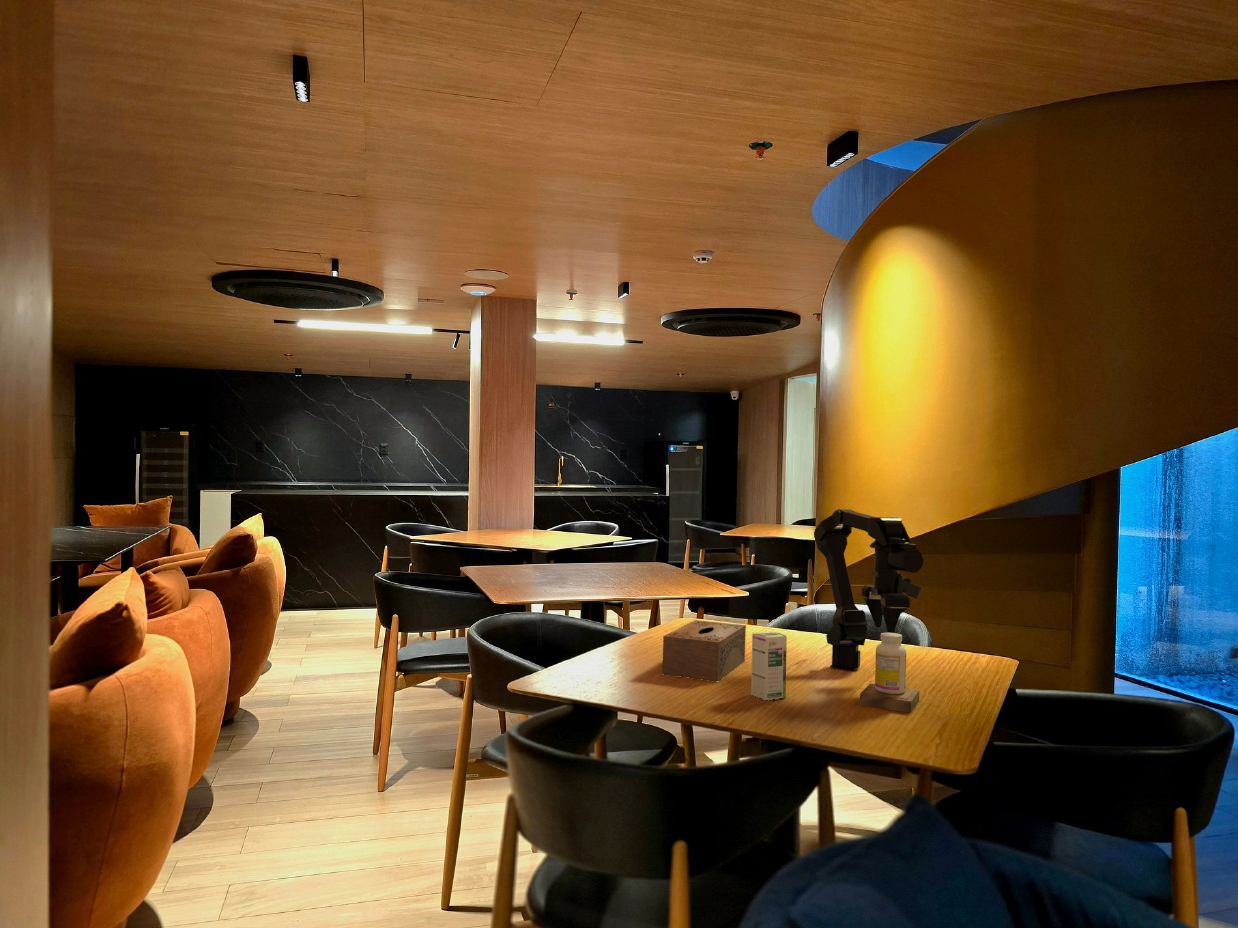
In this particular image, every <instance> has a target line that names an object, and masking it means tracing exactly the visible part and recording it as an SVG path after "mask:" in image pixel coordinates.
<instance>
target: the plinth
mask: <svg viewBox="0 0 1238 928" xmlns="http://www.w3.org/2000/svg"><path fill="white" fill-rule="evenodd" d="M919 702H920V690H919V689H911V688H906V689H905V692H904V693H901V694H887V693H882V692H879V691H877V690H876V688H875V683H871V682H870V683H869V684H868V685H867V686H866V687H865V688H864V689H863V690H862V691H861V692H860V693H859V705H860V706H865V707H870V708H877V707H879V708H878V709H884V710H889V709H890V710H891V711H896V712H903V713H910V714H912V713H913V711H914V710H915V708H916V707H917V705H918V704H919Z"/></svg>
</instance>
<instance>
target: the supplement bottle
mask: <svg viewBox="0 0 1238 928" xmlns="http://www.w3.org/2000/svg"><path fill="white" fill-rule="evenodd" d="M902 641H903V635H902V634H900V633H896V632H894V633H888V632H881V633H880V642H881V643H880V644H878V645H877V646H876V647H875V667H874V668H875V671H874V672H875V673H874V675H875V676H874V677H875V678H874V684H875V688H876V690H877V691H879V692H882V693H887V694H901V693H904V692H905V689H907V686H906V685H907V682H906V681H907V679H906V678H907V649H906V647H905V646H903V645H902Z"/></svg>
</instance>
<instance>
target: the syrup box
mask: <svg viewBox="0 0 1238 928" xmlns="http://www.w3.org/2000/svg"><path fill="white" fill-rule="evenodd" d="M787 639H788V638H787V635H785V634H784V633H780V632H777V631H767V632H766V631H765V632H756V633H754V632H753V633H752V634H751V687H750V688H751V691H750V692H751V695H752V696H753V697H755V696H756V697H755V698H757V697H758V698H757V699H759V698H762V699H764V700H763V701H765V700H768V701H774V700H773V699H775V700H780V699H779V698H785V699H786V697H787V696H786V695H787V693H786V692H787V652H788V651H787V645H788V644H787V643H788V640H787ZM762 699H761V700H762Z"/></svg>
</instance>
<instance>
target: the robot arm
mask: <svg viewBox="0 0 1238 928" xmlns="http://www.w3.org/2000/svg"><path fill="white" fill-rule="evenodd" d="M852 528H853V529H857V530H861V531H863V532H866V533H867V535H868V536H869V537H870V538H871V539H874V541H872V542H871V543H870V545H869V547H870V548H872V549H874V562H873V563H874V567H873V570H872V569H871V575H872V576H873V584H865V585H864V586H862V588H861V596H862V597H863V601H865V602H864V603H865V604H866V607H867V608H868V610H869V613H870V615H871V618H872V621H873V623H874V625H875V627H876V628H881V626H882V622H883V621H882V620H884V623H885V628H886V631H887V633H895V631H896V627H897V624H898V622H899V619H900V616H901V615H902V614H903V613H904V612H906V611H908V610H909V608H912V607H911V606H912V599H911V598H910V597H912V598H914V599H916V600H918V599H919V597H920V595H921V592H922V589H923V586H920V585H917V584H914V583H912V579H911V578H909V577H907V576H903V575H902V573H900V572H901V571H902V572H906V573H912V574H915V573H917V572H919V571H920V570H921V568H922V567H923V565H924V557H923V555H922V552H920V550H918V548H917V544H916V543H912V541H911V538H910V536H909V534H908V532H907V529H906V527H905V525H904V523H903V520H902V518H900V517H897V516H896V517H891V516H890V517H887V516H885V517H884V516H883V517H882V516H881V517H879V516H878V517H877V516H872V515H869V514H866V513H862V512H858V511H854V510H853V509H844V508H841V509H836V510H834V511H833V513H832V514H831V515H830V516H828V517H826V518H824V519H823V520H821V521H820V523H819V524H818V525H817V526H816V528H815V529H814V531H813V538H814V541H815V543H816V548H817V550H819V551H818V552H819V553H821V554H822V555H823V556H824V557H825V560H826V565H827V570H828V571H827V572H828V575H829V580H830V585H831V589H832V594H833V599H834V604H835V611H834V614H833V617H832V627H831V628H830V630H829V631H828V632H827V633H826V635H825V637H826V644H829V645H831V646H832V647H831V648H832V650H831V652H832V653H831V665H829V668H831V669H836V670H842V671H849V672H855V671H856V670H858V669H859V668H860V667H861V650H859V648H860V647H859V646H865V643H866V638H867V635H868V632H869V630H868V625H869V624H868V622H867V618H866V612H865V610H863V609H859V608H858V607H857V606H856V604H855V599H854V594H853V590H852V585H851V581H850V576H849V571H848V567H847V562H846V557H845V552H846V549H847V546H848V538H849V536H850V535H851V534H852V532H853V531H852ZM899 571H900V572H899Z"/></svg>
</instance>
